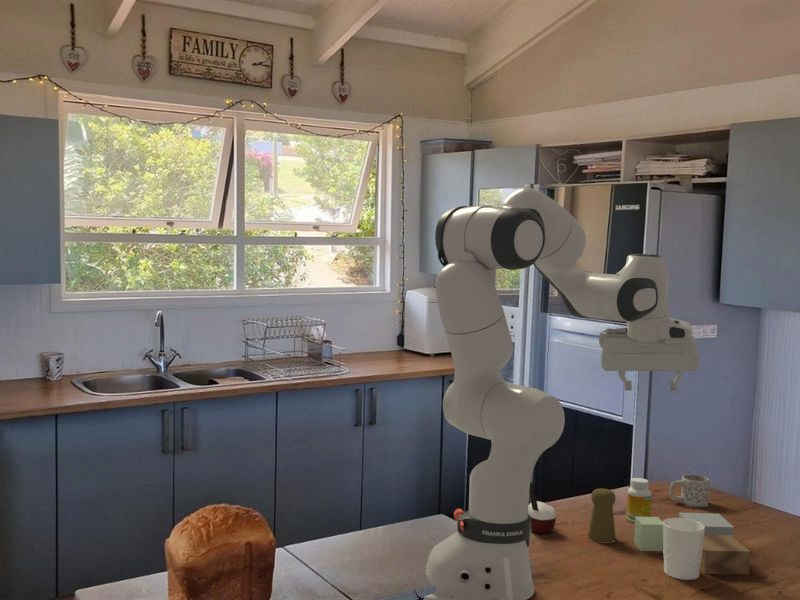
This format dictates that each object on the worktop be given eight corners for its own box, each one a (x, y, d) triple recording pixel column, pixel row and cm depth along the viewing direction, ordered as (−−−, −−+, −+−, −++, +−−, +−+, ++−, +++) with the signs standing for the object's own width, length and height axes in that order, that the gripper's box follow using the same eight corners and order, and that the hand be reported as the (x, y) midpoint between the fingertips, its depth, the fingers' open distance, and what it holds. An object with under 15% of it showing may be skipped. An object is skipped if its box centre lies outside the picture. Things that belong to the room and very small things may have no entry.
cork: (616, 544, 177) (618, 494, 177) (588, 541, 179) (590, 492, 178) (614, 535, 183) (616, 487, 183) (587, 532, 184) (589, 484, 184)
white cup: (662, 563, 167) (664, 515, 166) (703, 569, 164) (705, 521, 164) (659, 577, 160) (661, 527, 159) (702, 584, 157) (704, 533, 156)
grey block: (690, 548, 177) (691, 525, 176) (678, 534, 186) (679, 512, 185) (732, 549, 176) (733, 527, 176) (718, 535, 185) (719, 513, 185)
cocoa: (549, 526, 189) (552, 475, 189) (564, 534, 183) (567, 481, 183) (514, 529, 186) (516, 476, 186) (528, 537, 180) (531, 483, 180)
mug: (701, 499, 212) (702, 474, 211) (713, 507, 205) (714, 481, 205) (664, 499, 211) (665, 474, 211) (674, 507, 204) (675, 481, 204)
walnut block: (704, 574, 162) (705, 550, 162) (688, 557, 171) (689, 534, 171) (749, 575, 162) (750, 551, 162) (730, 558, 171) (731, 535, 171)
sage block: (641, 551, 173) (642, 524, 173) (634, 543, 178) (635, 516, 178) (664, 552, 173) (665, 524, 173) (656, 543, 178) (658, 517, 178)
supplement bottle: (646, 525, 190) (648, 484, 190) (623, 521, 193) (625, 480, 192) (652, 519, 195) (654, 479, 194) (630, 514, 198) (631, 475, 197)
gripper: (597, 332, 175) (600, 393, 177) (698, 330, 168) (700, 394, 170) (599, 325, 180) (603, 385, 183) (698, 323, 174) (699, 385, 176)
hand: (650, 389), depth 176 cm, fingers open, 8 cm apart
